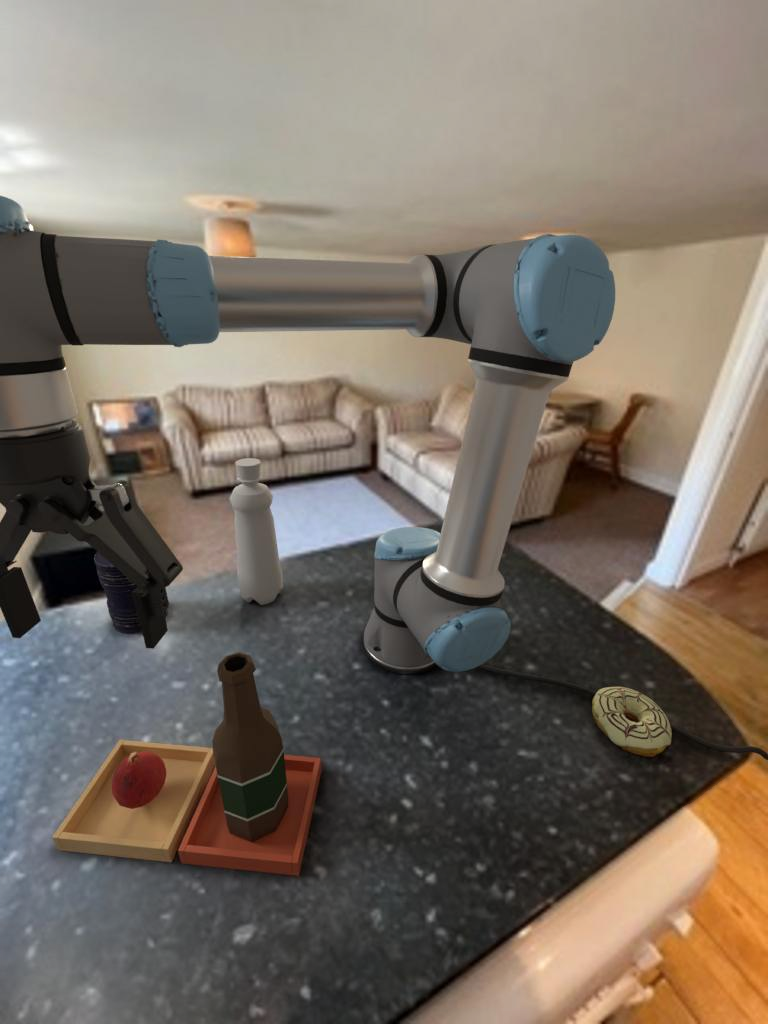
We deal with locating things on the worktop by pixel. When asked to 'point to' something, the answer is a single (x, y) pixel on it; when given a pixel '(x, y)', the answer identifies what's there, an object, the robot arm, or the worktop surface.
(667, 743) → the decorated donut
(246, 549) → the bottle
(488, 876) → the worktop surface
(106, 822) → the birch tray
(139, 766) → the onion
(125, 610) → the storage jar
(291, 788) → the terracotta tray
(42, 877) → the worktop surface
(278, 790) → the beer bottle
